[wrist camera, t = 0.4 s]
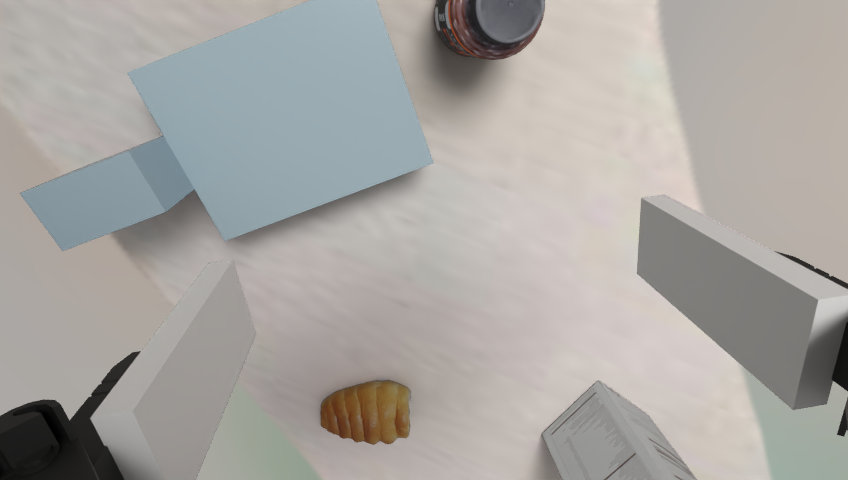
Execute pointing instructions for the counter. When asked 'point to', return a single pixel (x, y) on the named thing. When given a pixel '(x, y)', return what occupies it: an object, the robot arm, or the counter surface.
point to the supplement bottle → (488, 26)
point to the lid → (253, 128)
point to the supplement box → (611, 441)
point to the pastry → (368, 412)
